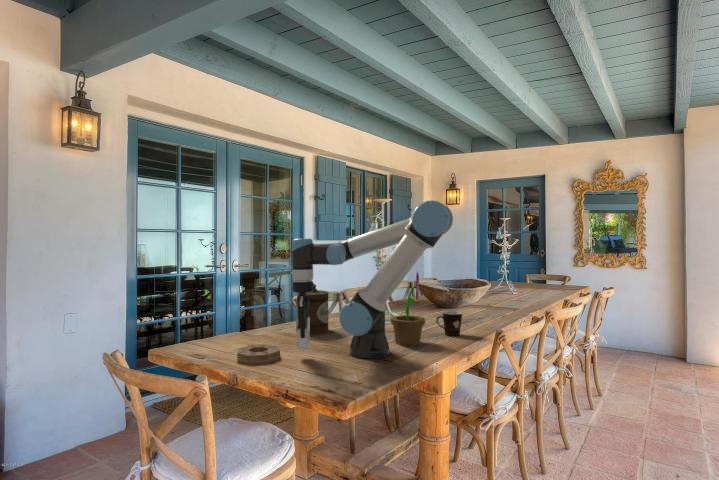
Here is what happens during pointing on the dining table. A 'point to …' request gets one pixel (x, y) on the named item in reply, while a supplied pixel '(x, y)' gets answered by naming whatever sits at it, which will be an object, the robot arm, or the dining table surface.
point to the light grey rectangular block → (307, 333)
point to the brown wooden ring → (258, 354)
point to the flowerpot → (408, 323)
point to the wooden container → (317, 311)
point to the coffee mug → (451, 323)
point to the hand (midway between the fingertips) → (303, 344)
